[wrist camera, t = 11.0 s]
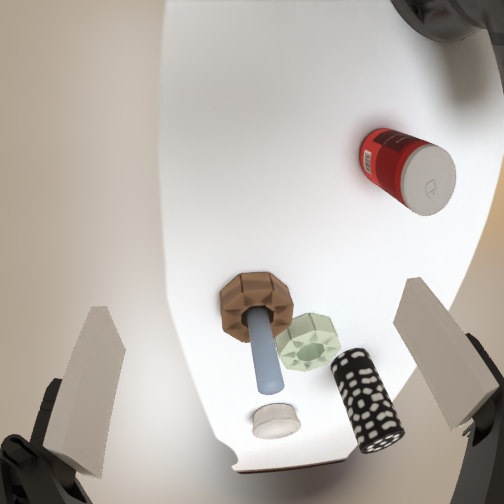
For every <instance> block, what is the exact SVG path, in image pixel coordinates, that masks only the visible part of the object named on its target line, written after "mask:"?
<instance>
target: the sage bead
mask: <svg viewBox="0 0 504 504" xmlns="http://www.w3.org/2000/svg"><path fill="white" fill-rule="evenodd" d="M275 342H276V346H277V350H278V354H279V357H280V359H281V361H282V363H283V364H284V366H285V368H287V369H290V370H298V371H309V370H312V369H315V368H317V367H320V366H323V365H325V364H327V362H328V363H329V362H330V361H331V359H332V358H333V357H334V356H335V355H336V353H337V352H338V351H339V350H340V349H341V348H340V347H341V346H340V343H339V339H338V336H337V333H336V331H335V329H334V326H333V324H332V322H331V320H330V318H329V317H326V316H322V315H318V314H313V313H309V314H308V313H307V314H304V315H302V316H299V317H297V318H294V319H292V323H291V325H290V327H288V328H287V329H286V330H284V331H283V332H282V333H280V334H279V335H278V336H276V337H275Z"/></svg>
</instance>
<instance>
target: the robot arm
mask: <svg viewBox="0 0 504 504" xmlns="http://www.w3.org/2000/svg"><path fill="white" fill-rule="evenodd" d="M392 2H393V4H394V6H395V7H396V9H397V10H398V12H399V13H400V14H401V16H402V17H403V18H404V19H405V20H406V21H407V23H408V24H409V25H411V26H412V27H413V28H414V29H415V30H416V31H418V32H419V33H420V34H422V35H424V36H425V37H427V38H429V39H432V40H435V41H439V42H455V41H460V40H462V39H464V38H466V37H467V36H469V35H471V34H473V33H475V32H477V31H479V30H480V29H487V30H488V33H489V36H490V40H491V43H492V47H493V50H494V54H495V57H496V61H497V65H498V69H499V73H500V77H501V82H502V87H503V93H504V0H392ZM393 324H394V326H395V327H396V329H397V331H398V332H399V334H400V336H401V338H402V339H403V341H404V343H405V344H406V346H407V348H408V350H409V351H410V353H411V355H412V357H413V358H414V360H415V362H416V364H417V366H418V367H419V369H420V371H421V373H422V375H423V377H424V378H425V380H426V382H427V384H428V386H429V388H430V390H431V392H432V394H433V395H434V397H435V399H436V401H437V403H438V405H439V407H440V409H441V411H442V413H443V415H444V417H445V419H446V421H447V423H448V426H449V427H450V430H451V431H453V430H455V429H457V428H459V427H461V426H463V425H465V424H466V423H467V422H468V421H469V420H470V419H471V418H473V420H474V422H473V423H472V424H471V425H470V426H469V427H468V428H467V429H466V430H465V431H464V432H463V435H462V436H465V435H466V434H467V433H468V432H469V431H470V433H469V435H468V436H467V437H469V439H468V443H467V448H466V452H465V456H464V460H463V464H462V468H461V471H460V475H459V479H458V482H457V484H456V488H455V491H454V494H453V497H452V499H451V502H450V504H504V378H503V376H502V374H501V373H500V371H499V370H498V368H497V367H496V365H495V364H494V362H493V361H492V360H491V358H490V357H489V355H488V354H487V352H486V351H484V348H483V346H482V345H481V344H480V342H479V341H478V340H477V339H476V338H475V337H474V336H472V335H471V334H470V333H467V334H464V332H463V331H462V330H461V328H460V327H459V326H458V324H457V323H456V322H455V320H454V319H453V318H452V316H451V315H450V314H449V312H448V311H447V310H446V308H445V307H444V306H443V305H442V303H441V302H440V301H439V300H438V298H437V297H436V296H435V295H434V293H433V292H432V291H431V290H430V288H429V287H428V286H427V285H426V284H425V282H424V281H423V280H422V279H421V278H420V277H417V278H411V279H407V282H406V285H405V288H404V291H403V295H402V298H401V301H400V304H399V307H398V310H397V313H396V316H395V319H394V321H393ZM125 351H126V349H125V347H124V345H123V343H122V341H121V338H120V336H119V334H118V332H117V329H116V327H115V325H114V323H113V320H112V318H111V315H110V313H109V311H108V308H107V306H98V307H91V309H90V312H89V314H88V316H87V318H86V320H85V323H84V325H83V328H82V330H81V332H80V335H79V337H78V340H77V342H76V345H75V347H74V350H73V352H72V355H71V358H70V360H69V363H68V366H67V369H66V371H65V374H64V377H63V379H57V378H54V379H53V381H52V382H51V383H50V384H49V386H48V387H47V389H46V391H45V394H44V397H43V401H42V403H41V406H40V411H39V412H38V415H37V419H36V422H35V425H34V428H33V432H32V435H31V439H30V442H28V441H27V440H25V439H24V438H23V437H21V436H20V435H16V434H12V435H9V436H8V437H6V438H5V439H4V441H3V443H2V444H1V448H0V504H93V503H92V502H91V500H90V499H89V497H88V496H87V494H86V492H85V491H84V489H83V487H82V486H81V484H80V482H79V481H78V479H77V478H76V477H75V474H76V471H77V472H79V473H80V474H82V475H83V476H87V477H92V478H97V479H101V477H102V469H103V461H104V455H105V448H106V442H107V436H108V430H109V425H110V419H111V414H112V409H113V404H114V399H115V394H116V389H117V384H118V380H119V376H120V371H121V367H122V363H123V359H124V355H125Z"/></svg>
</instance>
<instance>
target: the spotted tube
mask: <svg viewBox="0 0 504 504" xmlns="http://www.w3.org/2000/svg"><path fill="white" fill-rule="evenodd" d="M331 370H332V373H333V375H334V378H335V381H336V383H337V386H338V389H339V392H340V394H341V397H342V400H343V403H344V405H345V408H346V411H347V414H348V417H349V419H350V422H351V425H352V428H353V431H354V434H355V436H356V439H357V442H358V445H359V448H360V451H361V453H363V454H368V453H373V452H377V451H379V450H382V449H384V448H387V447H388V446H390V445H392V444H394V443H395V442H397V441H398V440H400V439H401V438H402V437H403V436H404V434H405V431H404V429H403V426H402V424H401V422H400V420H399V417H398V415H397V413H396V411H395V409H394V406H393V404H392V402H391V400H390V398H389V395H388V393H387V391H386V389H385V387H384V385H383V383H382V381H381V378H380V376H379V374H378V372H377V370H376V368H375V366H374V364H373V362H372V360H371V358H370V356H369V354H368V352H367V351H366V350H365V349H362V348H356V349H351V350H348V351H346V352H344V353H342V354H340V355H339V356H338V357H337V358H336V359H335V360H334V361H333V363H332V365H331Z"/></svg>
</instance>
